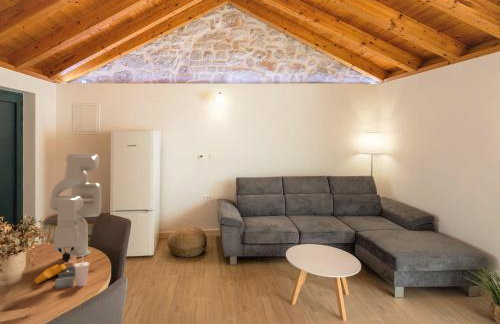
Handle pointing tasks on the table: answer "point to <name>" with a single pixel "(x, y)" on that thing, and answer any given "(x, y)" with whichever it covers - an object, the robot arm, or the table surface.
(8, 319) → the table surface
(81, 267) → the pink drink cup
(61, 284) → the book ends
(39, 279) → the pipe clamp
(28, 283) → the table surface
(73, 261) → the peach two-stud bar
